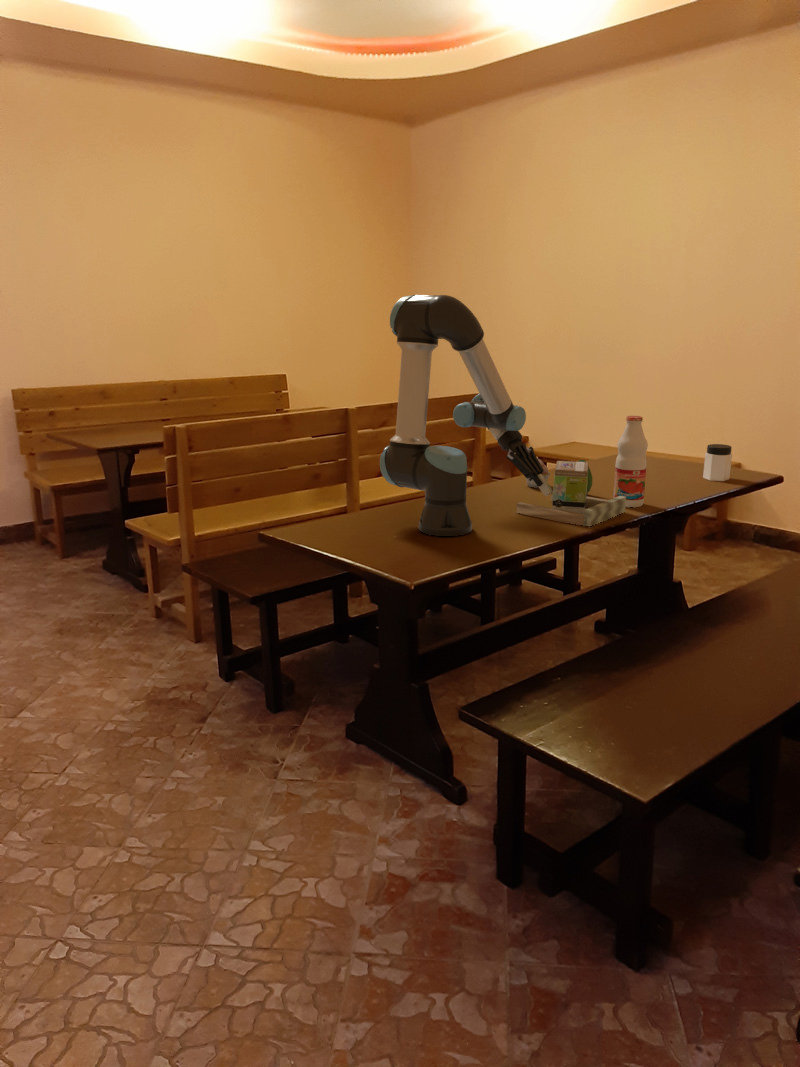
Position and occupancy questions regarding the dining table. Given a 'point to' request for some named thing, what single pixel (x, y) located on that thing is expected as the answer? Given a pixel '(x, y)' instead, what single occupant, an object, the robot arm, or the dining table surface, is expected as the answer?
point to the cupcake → (544, 474)
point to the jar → (717, 462)
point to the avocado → (589, 483)
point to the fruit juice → (631, 463)
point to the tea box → (570, 486)
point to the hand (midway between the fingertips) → (549, 493)
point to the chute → (592, 515)
